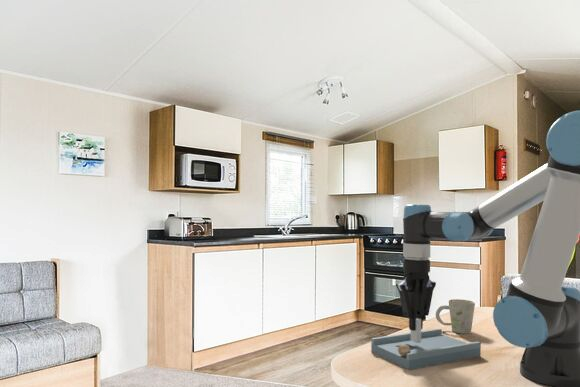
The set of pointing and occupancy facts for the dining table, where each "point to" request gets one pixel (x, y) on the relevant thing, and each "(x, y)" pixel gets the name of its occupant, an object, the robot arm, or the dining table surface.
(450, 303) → the mug
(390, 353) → the plate
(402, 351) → the cork ball
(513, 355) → the dining table surface
